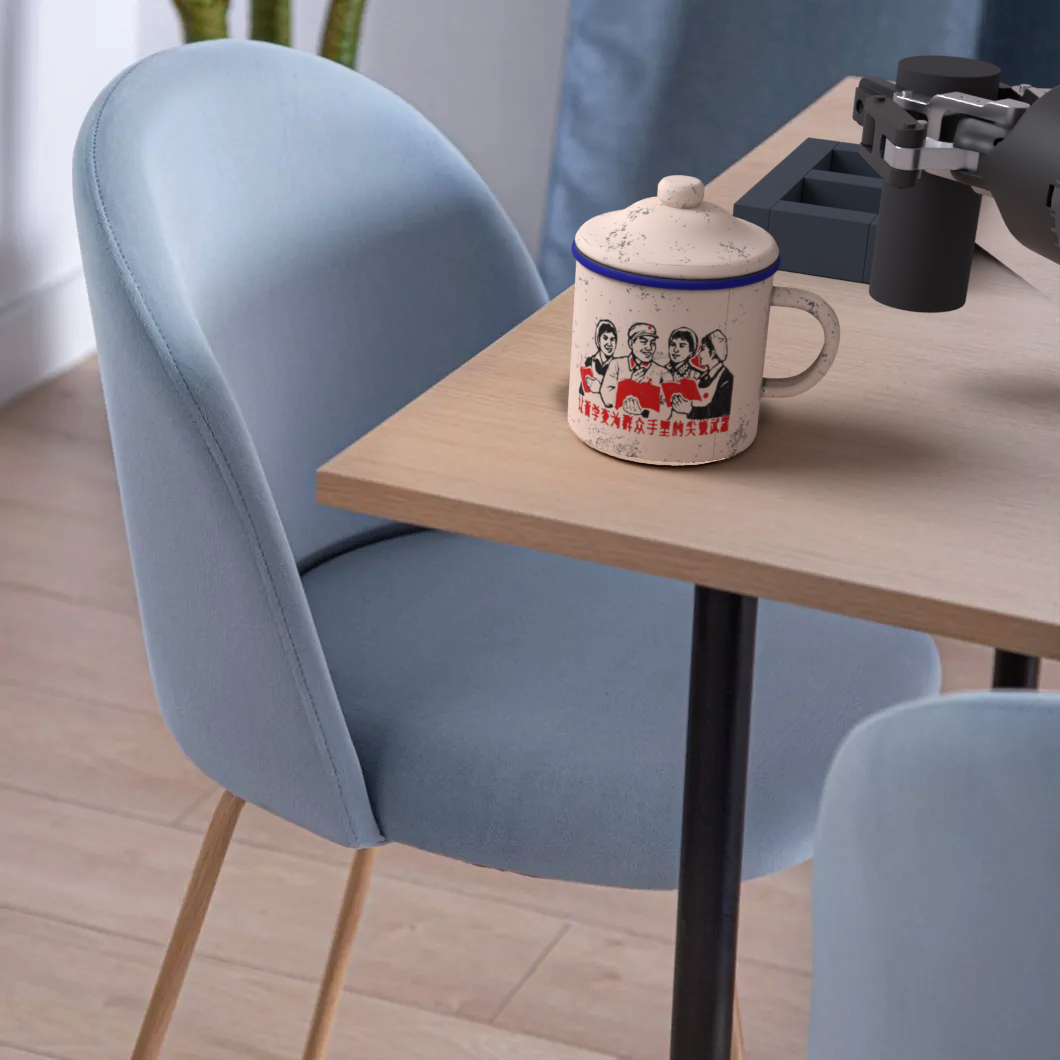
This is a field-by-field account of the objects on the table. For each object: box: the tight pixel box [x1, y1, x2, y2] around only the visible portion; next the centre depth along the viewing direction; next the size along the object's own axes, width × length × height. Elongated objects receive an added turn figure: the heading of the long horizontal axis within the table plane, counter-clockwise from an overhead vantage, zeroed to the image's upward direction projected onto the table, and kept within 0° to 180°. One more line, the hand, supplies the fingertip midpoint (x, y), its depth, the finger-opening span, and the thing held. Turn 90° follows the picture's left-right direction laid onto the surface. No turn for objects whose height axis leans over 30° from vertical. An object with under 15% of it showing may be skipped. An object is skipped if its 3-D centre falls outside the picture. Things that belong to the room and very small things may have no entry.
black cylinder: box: [868, 54, 1002, 314], centre depth 82 cm, size 5×5×11 cm
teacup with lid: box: [567, 174, 841, 463], centre depth 78 cm, size 12×9×12 cm
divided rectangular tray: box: [732, 136, 883, 284], centre depth 109 cm, size 10×18×4 cm, turn 158°
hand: (912, 96), depth 83 cm, fingers closed on black cylinder, 4 cm apart
